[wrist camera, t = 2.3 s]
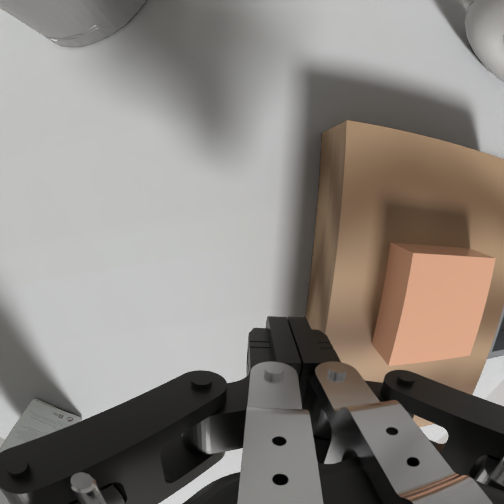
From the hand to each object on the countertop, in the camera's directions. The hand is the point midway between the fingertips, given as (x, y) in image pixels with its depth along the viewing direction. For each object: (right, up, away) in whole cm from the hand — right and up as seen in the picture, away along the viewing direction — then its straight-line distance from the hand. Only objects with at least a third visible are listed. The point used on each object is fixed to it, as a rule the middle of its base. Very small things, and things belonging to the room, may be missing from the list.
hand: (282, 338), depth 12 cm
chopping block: (+10, +1, +10) cm, 14 cm away
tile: (+9, +1, +4) cm, 10 cm away
